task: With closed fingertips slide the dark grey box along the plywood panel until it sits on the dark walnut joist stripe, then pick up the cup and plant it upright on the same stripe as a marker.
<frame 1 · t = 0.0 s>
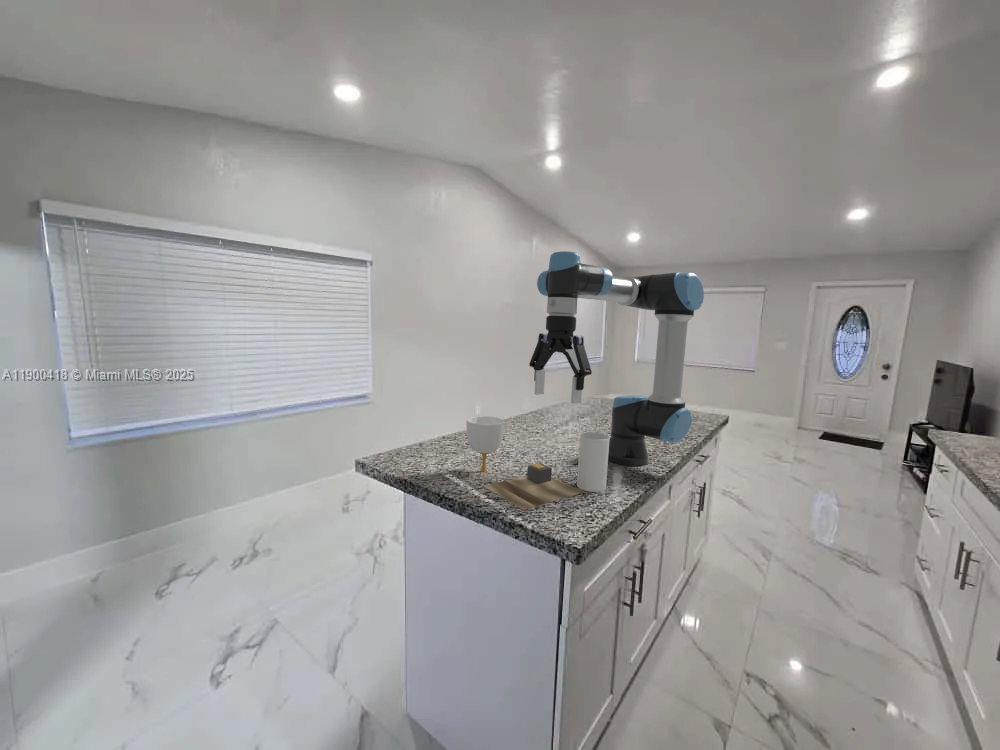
hand: (556, 398, 109), 28 cm above the countertop, fingers open, 13 cm apart
dark grey box: (538, 479, 125), point 1 cm above the countertop, touching panel
panel: (533, 492, 118), on the countertop
cup 2: (483, 474, 131), on the countertop
cup: (591, 490, 122), on the countertop
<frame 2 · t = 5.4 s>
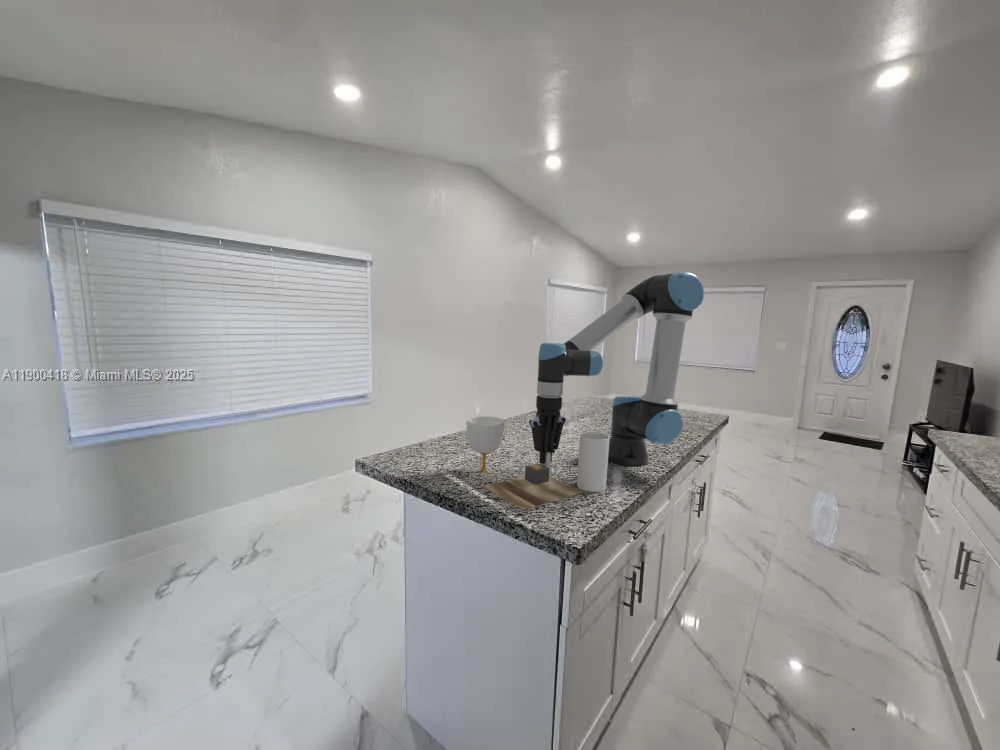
hand: (544, 473, 127), 3 cm above the countertop, fingers closed
dark grey box: (536, 480, 125), point 1 cm above the countertop, touching gripper, panel
everything else where it was.
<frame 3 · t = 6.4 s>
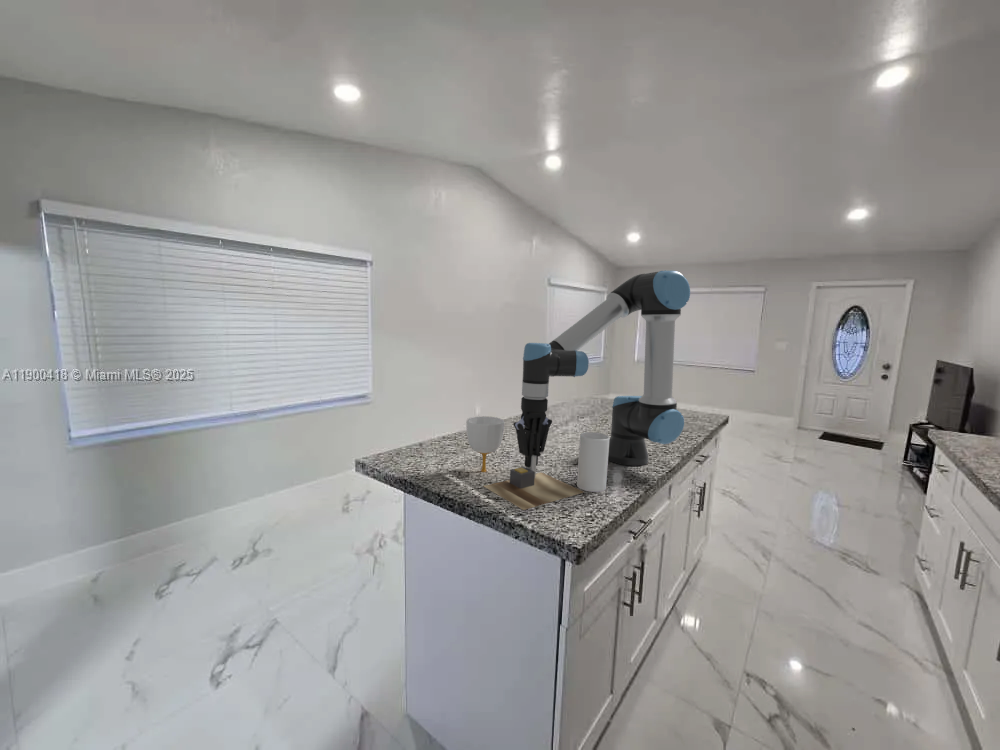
hand: (530, 476, 123), 3 cm above the countertop, fingers closed
dark grey box: (521, 484, 122), point 1 cm above the countertop, touching gripper
everything else where it was.
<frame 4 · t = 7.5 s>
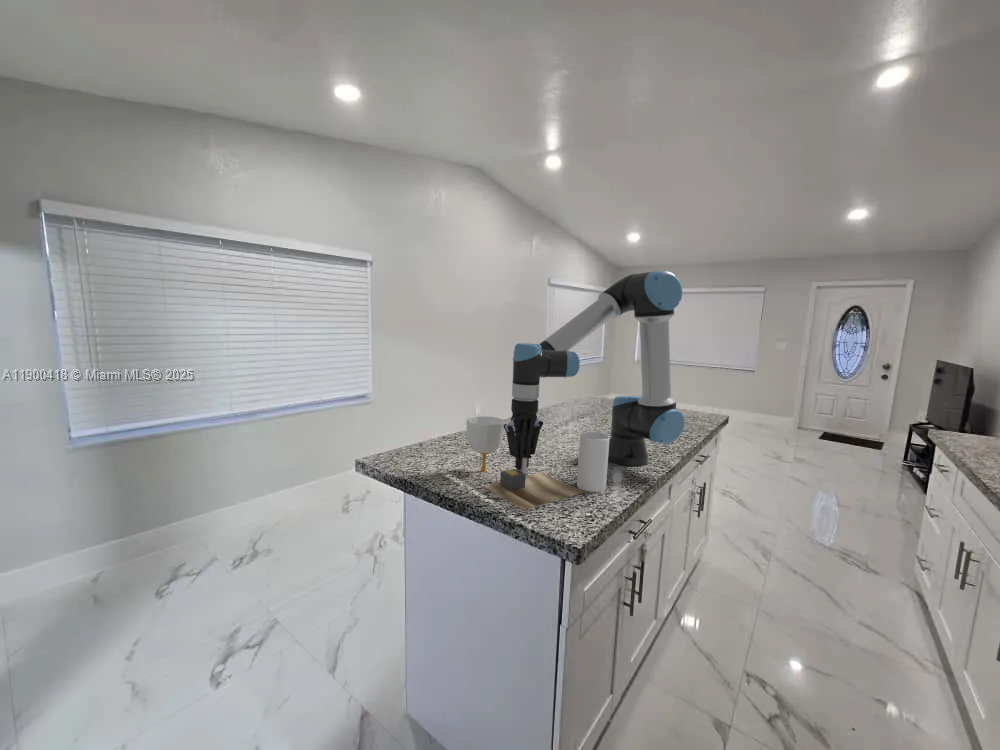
hand: (521, 479, 121), 2 cm above the countertop, fingers closed
dark grey box: (512, 486, 119), point 1 cm above the countertop, touching gripper, panel
everything else where it was.
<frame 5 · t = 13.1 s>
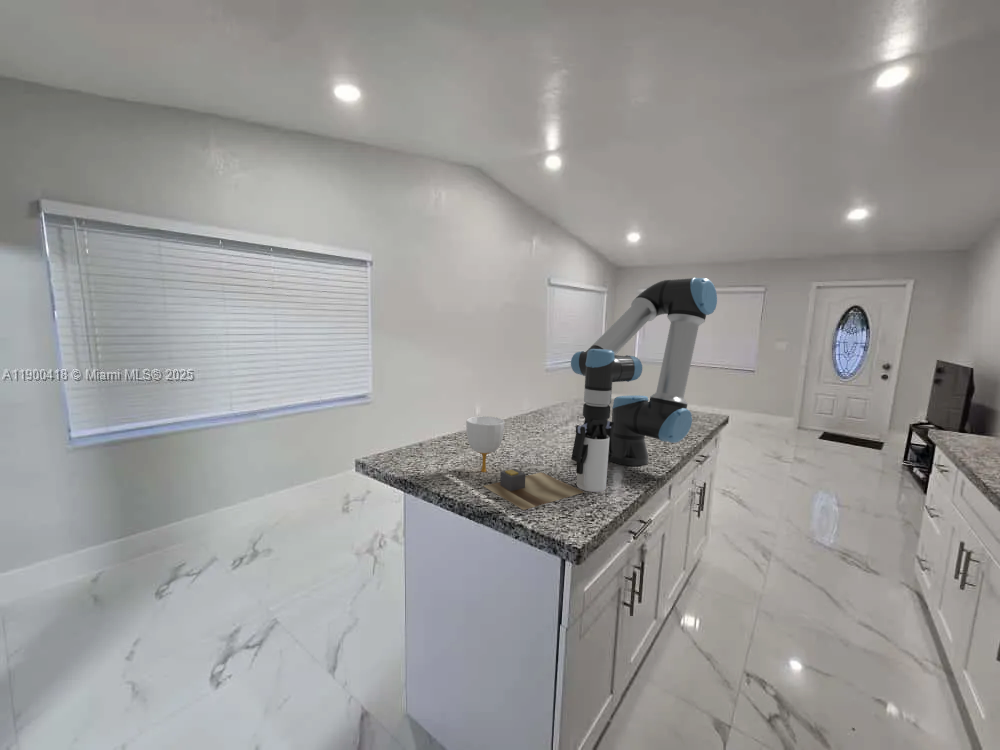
hand: (591, 481, 122), 3 cm above the countertop, fingers closed on cup, 8 cm apart
dark grey box: (512, 486, 119), point 1 cm above the countertop, touching panel
cup: (590, 490, 122), on the countertop, touching gripper
everything else where it was.
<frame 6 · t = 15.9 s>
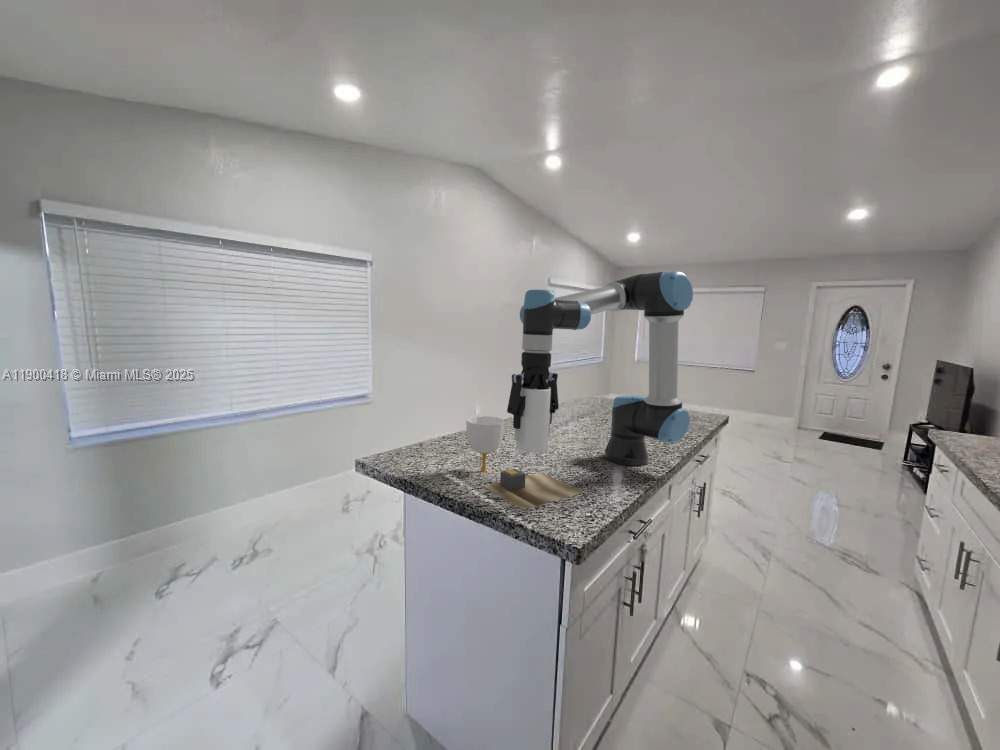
hand: (532, 438, 110), 17 cm above the countertop, fingers closed on cup, 8 cm apart
cup: (531, 448, 111), point 15 cm above the countertop, touching gripper
everything else where it was.
when the fingers open (5 cm above the countertop, at t = 18.5 s): cup drops 2 cm, resting on panel.
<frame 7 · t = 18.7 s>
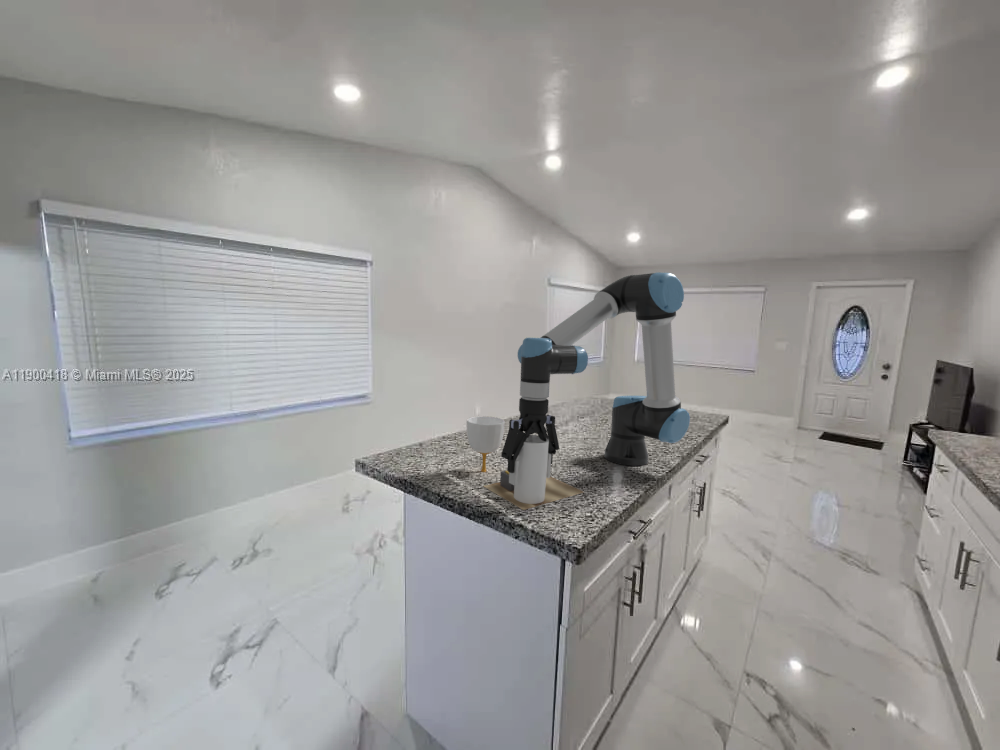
hand: (529, 480, 112), 6 cm above the countertop, fingers open, 10 cm apart
cup: (529, 498, 112), point 1 cm above the countertop, touching panel
everything else where it was.
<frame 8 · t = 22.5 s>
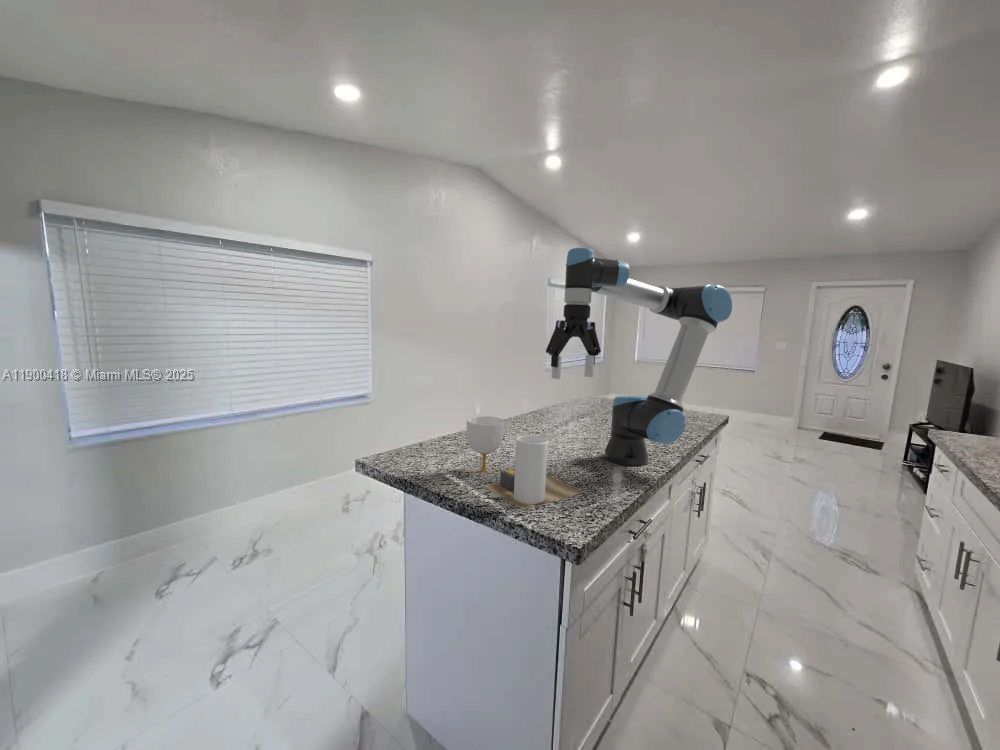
hand: (572, 377, 124), 32 cm above the countertop, fingers open, 13 cm apart
nothing on the countertop moved.
at the end: dark grey box 1.5 cm from the target spot, point 1.0 cm above the countertop; cup inside the target area (0.2 cm from its centre), point 0.8 cm above the countertop; cup tilted 0° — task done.
